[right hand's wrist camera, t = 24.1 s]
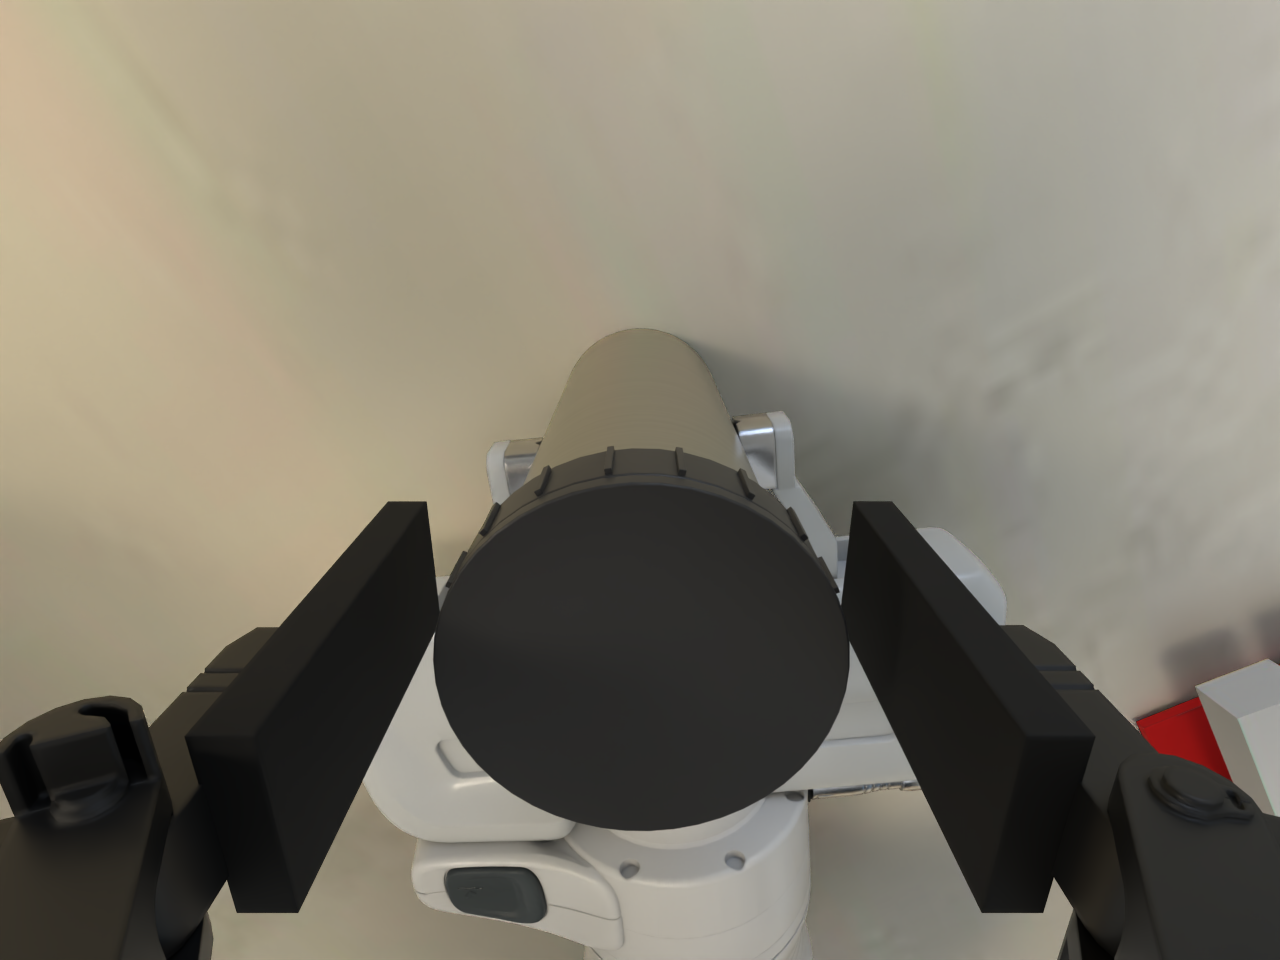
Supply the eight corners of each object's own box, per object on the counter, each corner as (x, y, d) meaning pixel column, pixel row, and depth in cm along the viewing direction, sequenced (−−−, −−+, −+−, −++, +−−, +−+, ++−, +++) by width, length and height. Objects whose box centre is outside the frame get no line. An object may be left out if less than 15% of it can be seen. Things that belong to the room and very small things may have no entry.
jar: (717, 471, 27) (803, 762, 13) (571, 478, 27) (495, 774, 13) (715, 324, 24) (815, 474, 11) (558, 332, 25) (450, 491, 11)
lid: (741, 805, 14) (753, 875, 12) (414, 712, 13) (385, 776, 11) (895, 519, 11) (932, 565, 10) (512, 386, 11) (492, 414, 9)
